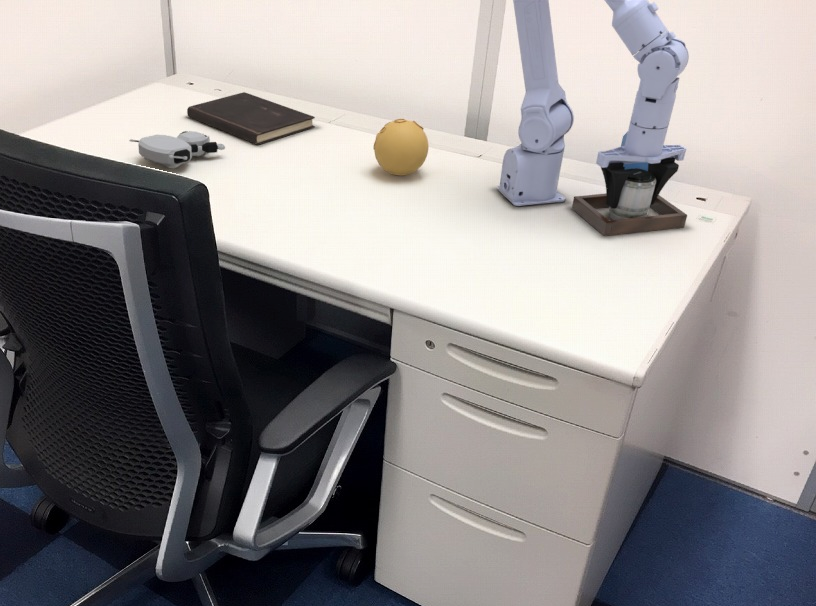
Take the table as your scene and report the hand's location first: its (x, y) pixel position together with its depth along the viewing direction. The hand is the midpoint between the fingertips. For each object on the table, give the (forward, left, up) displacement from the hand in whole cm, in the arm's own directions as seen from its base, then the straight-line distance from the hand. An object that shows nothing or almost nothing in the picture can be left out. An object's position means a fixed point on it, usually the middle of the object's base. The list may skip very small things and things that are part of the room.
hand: (629, 204), depth 141 cm
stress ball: (-31, +27, -3) cm, 41 cm away
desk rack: (0, 0, -2) cm, 2 cm away
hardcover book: (-53, +61, -3) cm, 81 cm away
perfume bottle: (+11, +16, -3) cm, 20 cm away
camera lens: (0, 0, -3) cm, 3 cm away
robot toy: (-70, +43, -3) cm, 82 cm away
